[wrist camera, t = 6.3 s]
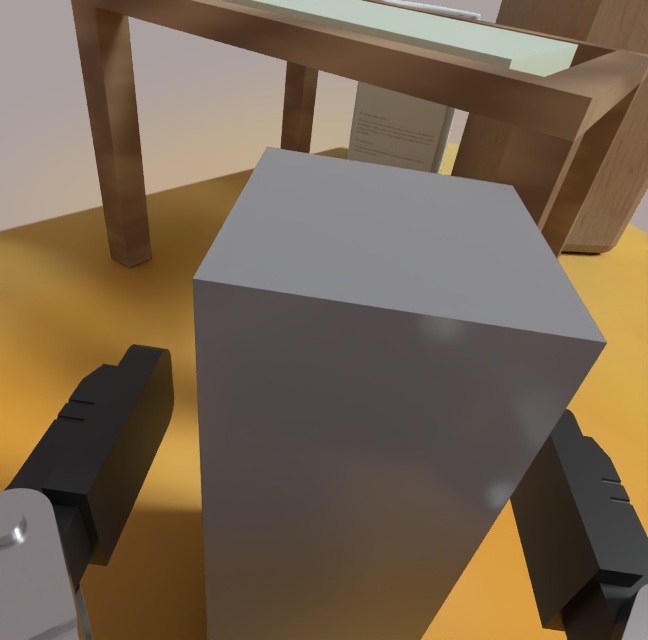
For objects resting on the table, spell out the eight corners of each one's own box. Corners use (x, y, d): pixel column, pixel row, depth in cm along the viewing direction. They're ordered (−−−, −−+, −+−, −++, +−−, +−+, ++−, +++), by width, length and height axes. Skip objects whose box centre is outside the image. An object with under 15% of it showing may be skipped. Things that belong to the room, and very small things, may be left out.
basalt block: (208, 673, 12) (192, 278, 5) (246, 512, 16) (267, 147, 9) (382, 698, 12) (607, 342, 5) (381, 532, 16) (512, 186, 9)
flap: (189, 13, 21) (188, -15, 20) (326, 13, 28) (329, -8, 28) (500, 94, 15) (512, 59, 15) (570, 68, 23) (580, 44, 22)
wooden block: (615, 259, 35) (820, -106, 23) (487, 253, 33) (638, -147, 21) (547, 200, 43) (674, -95, 31) (440, 193, 41) (531, -125, 29)
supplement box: (441, 171, 45) (486, 13, 38) (424, 197, 40) (472, 18, 32) (367, 152, 47) (395, -3, 40) (341, 174, 41) (367, -2, 34)
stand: (111, 257, 27) (66, -31, 19) (289, 185, 38) (307, -15, 30) (439, 451, 19) (592, 98, 11) (543, 289, 30) (655, 55, 22)
